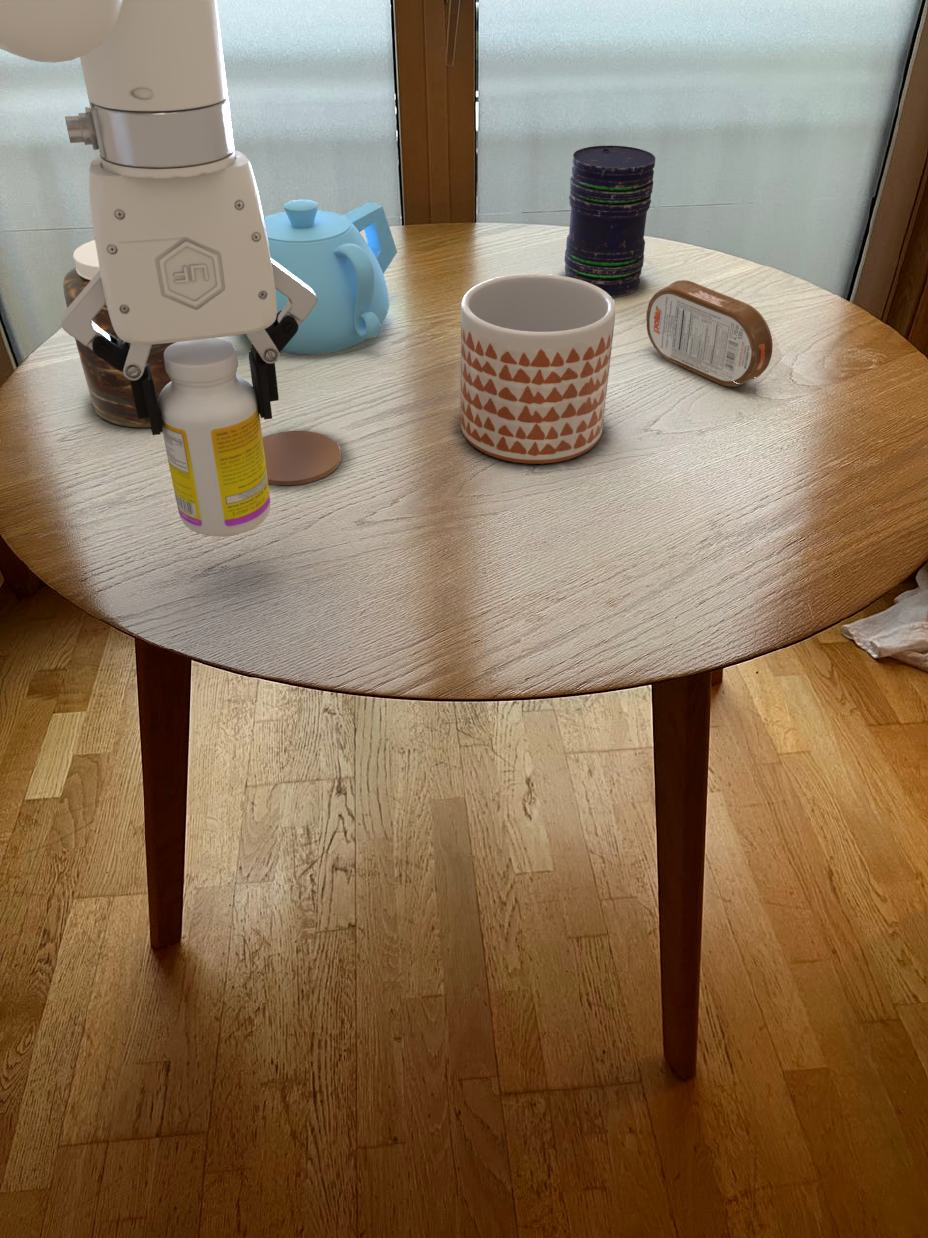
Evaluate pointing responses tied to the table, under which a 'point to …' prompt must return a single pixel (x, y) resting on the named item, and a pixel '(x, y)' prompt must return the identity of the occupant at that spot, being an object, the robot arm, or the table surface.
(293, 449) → the brown coaster
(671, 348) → the tin
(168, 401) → the supplement bottle
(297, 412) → the table surface
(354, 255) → the teapot
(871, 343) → the table surface
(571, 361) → the planter
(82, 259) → the jar
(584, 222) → the storage jar
